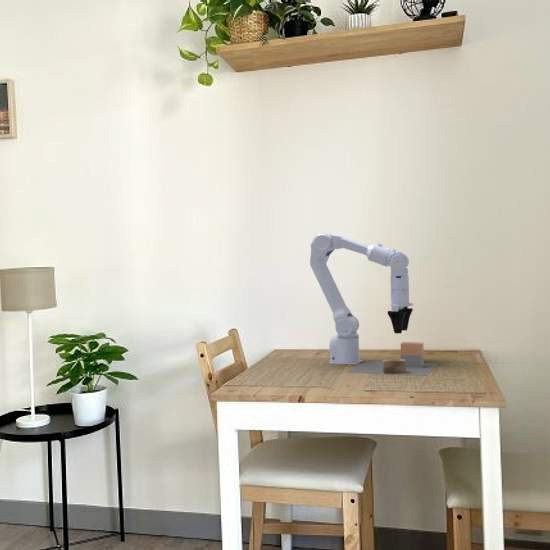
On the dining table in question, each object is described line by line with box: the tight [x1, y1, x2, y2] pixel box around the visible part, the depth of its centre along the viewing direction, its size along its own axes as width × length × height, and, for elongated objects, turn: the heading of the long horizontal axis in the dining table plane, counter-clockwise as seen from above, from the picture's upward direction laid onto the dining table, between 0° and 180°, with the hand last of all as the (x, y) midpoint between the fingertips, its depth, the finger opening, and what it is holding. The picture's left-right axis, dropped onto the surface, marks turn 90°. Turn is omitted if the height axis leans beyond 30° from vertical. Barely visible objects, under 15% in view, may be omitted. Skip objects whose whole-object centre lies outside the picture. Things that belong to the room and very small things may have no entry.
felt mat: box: [346, 360, 439, 377], centre depth 193 cm, size 24×20×1 cm
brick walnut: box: [382, 358, 406, 375], centre depth 185 cm, size 6×3×4 cm, turn 86°
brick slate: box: [400, 354, 425, 367], centre depth 194 cm, size 6×3×4 cm, turn 66°
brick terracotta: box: [400, 341, 425, 356], centre depth 194 cm, size 6×3×4 cm, turn 65°
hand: (400, 331), depth 201 cm, fingers open, 7 cm apart
